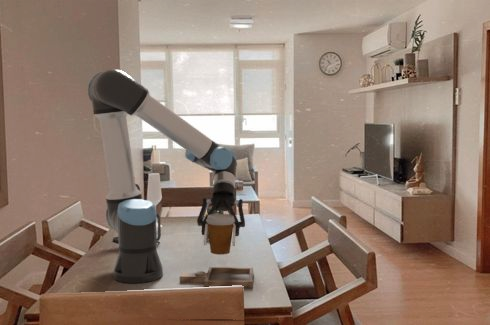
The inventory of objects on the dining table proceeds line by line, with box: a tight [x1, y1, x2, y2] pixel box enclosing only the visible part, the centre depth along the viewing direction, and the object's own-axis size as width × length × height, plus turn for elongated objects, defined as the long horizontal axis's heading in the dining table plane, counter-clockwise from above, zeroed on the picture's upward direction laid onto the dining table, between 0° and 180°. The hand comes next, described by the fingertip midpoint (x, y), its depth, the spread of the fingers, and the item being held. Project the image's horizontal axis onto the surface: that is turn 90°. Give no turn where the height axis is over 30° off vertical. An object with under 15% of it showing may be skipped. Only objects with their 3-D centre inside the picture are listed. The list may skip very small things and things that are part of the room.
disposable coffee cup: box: [206, 213, 235, 256], centre depth 172 cm, size 10×10×12 cm
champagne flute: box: [146, 172, 163, 229], centre depth 237 cm, size 7×7×24 cm
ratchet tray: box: [179, 266, 254, 289], centre depth 160 cm, size 22×14×2 cm, turn 88°
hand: (219, 243), depth 169 cm, fingers closed on disposable coffee cup, 8 cm apart
